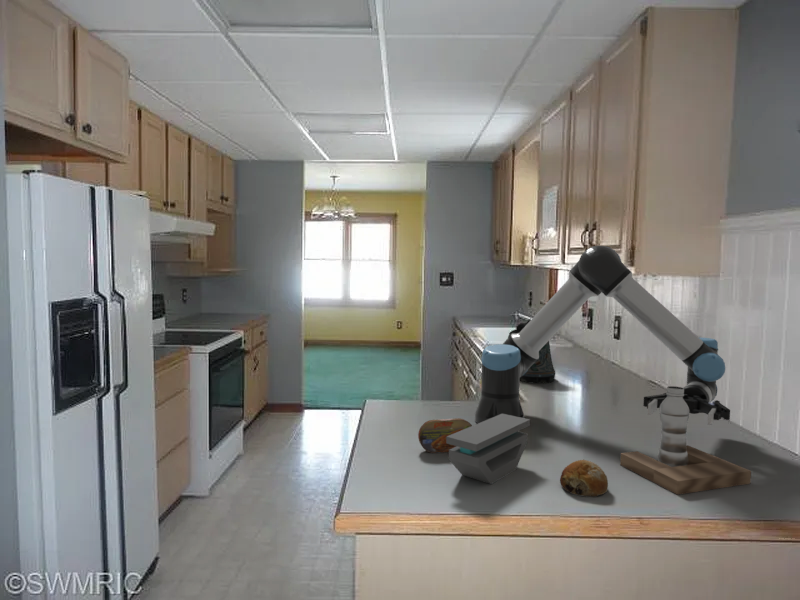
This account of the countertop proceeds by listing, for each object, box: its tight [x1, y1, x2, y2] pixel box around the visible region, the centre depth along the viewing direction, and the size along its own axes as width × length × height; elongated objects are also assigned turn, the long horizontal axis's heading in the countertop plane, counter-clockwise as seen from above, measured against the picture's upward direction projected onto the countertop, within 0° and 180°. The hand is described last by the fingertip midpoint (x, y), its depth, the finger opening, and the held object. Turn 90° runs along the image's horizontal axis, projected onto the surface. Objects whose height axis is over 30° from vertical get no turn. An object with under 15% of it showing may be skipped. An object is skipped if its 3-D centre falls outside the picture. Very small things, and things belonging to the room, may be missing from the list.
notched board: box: [619, 444, 752, 495], centre depth 132 cm, size 21×18×3 cm
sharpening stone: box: [446, 414, 531, 485], centre depth 131 cm, size 25×8×11 cm, turn 140°
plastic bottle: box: [657, 385, 690, 467], centre depth 134 cm, size 6×7×20 cm
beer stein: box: [507, 319, 556, 384], centre depth 234 cm, size 16×19×25 cm
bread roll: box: [559, 459, 609, 497], centre depth 123 cm, size 10×10×8 cm
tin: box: [417, 418, 473, 454], centre depth 146 cm, size 15×3×8 cm, turn 101°
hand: (678, 414), depth 137 cm, fingers open, 13 cm apart
